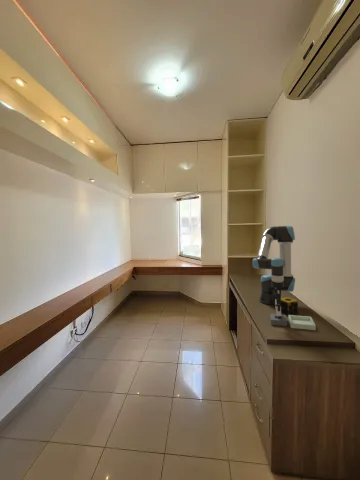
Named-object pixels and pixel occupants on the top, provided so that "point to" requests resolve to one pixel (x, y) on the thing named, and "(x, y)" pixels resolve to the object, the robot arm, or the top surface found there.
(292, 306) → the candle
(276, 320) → the socket block
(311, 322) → the tray
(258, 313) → the top surface
